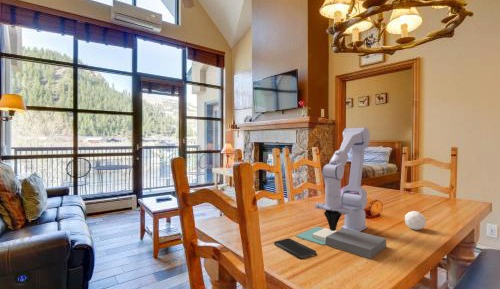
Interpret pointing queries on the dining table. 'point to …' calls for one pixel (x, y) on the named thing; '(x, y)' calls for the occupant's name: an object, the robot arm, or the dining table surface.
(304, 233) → the mat
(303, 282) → the dining table surface
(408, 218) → the geometric ball
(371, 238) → the block
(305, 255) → the phone
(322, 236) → the tile
